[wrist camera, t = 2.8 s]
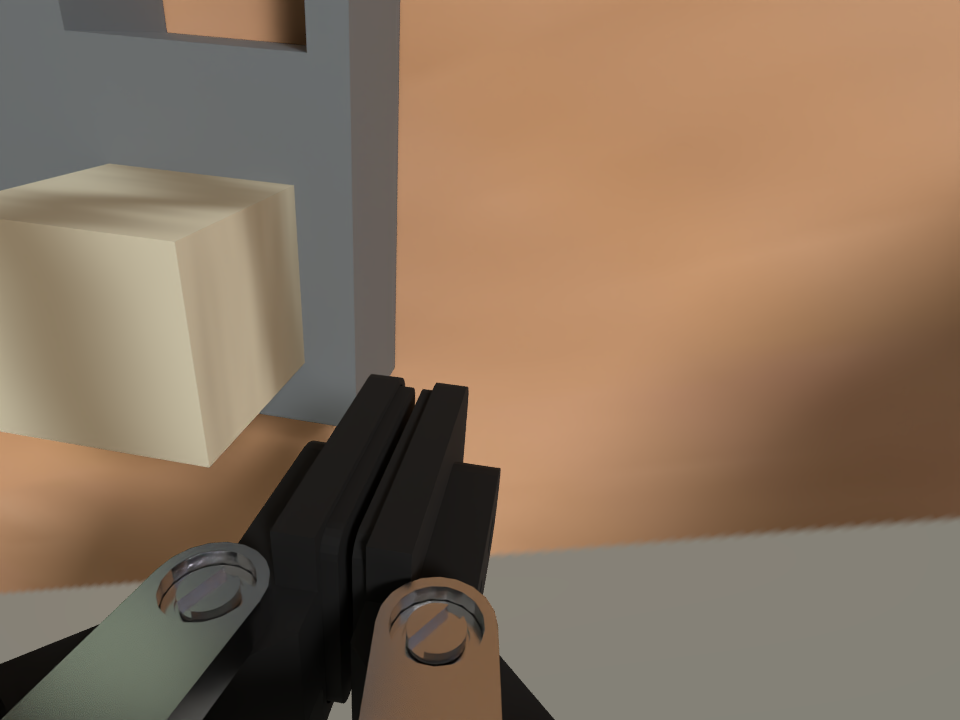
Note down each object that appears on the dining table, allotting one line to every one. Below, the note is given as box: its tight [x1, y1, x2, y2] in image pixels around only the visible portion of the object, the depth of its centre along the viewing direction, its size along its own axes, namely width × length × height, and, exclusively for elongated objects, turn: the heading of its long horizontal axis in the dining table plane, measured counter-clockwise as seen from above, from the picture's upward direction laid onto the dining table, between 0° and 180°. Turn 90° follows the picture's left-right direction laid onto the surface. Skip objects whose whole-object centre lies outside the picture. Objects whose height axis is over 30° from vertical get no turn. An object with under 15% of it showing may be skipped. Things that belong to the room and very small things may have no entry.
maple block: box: [0, 164, 305, 468], centre depth 15 cm, size 5×5×5 cm
